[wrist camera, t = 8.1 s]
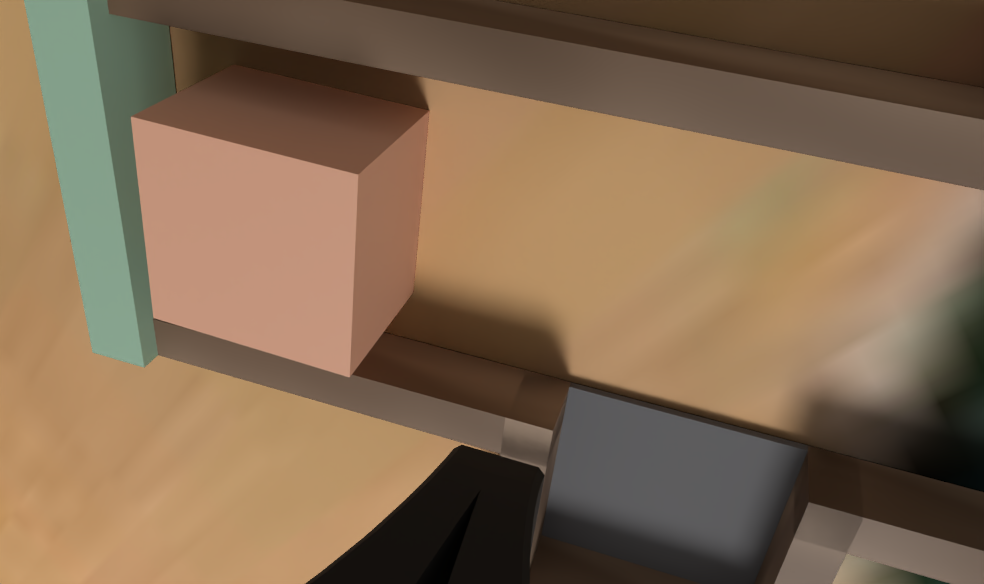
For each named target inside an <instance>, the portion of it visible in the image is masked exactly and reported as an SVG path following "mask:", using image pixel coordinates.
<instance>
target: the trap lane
mask: <svg viewBox="0 0 984 584" xmlns="http://www.w3.org/2000/svg"><path fill="white" fill-rule="evenodd" d="M24 3H25V8H26V13H27V18H28V23H29V28H30V33H31V38H32V44H33V49H34V54H35V59H36V64H37V69H38V74H39V79H40V85H41V90H42V95H43V100H44V105H45V110H46V115H47V120H48V126H49V131H50V136H51V141H52V146H53V151H54V156H55V161H56V167H57V172H58V177H59V182H60V187H61V192H62V197H63V202H64V208H65V213H66V218H67V223H68V228H69V233H70V238H71V243H72V249H73V254H74V259H75V264H76V269H77V274H78V279H79V284H80V290H81V295H82V300H83V305H84V310H85V315H86V320H87V325H88V331H89V336H90V341H91V346H92V351H93V353H96V354H100V355H103V356H107V357H110V358H114V359H117V360H120V361H124V362H127V363H131V364H134V365H137V366H141V367H145V366H146V365H148V364H149V363H150V362H151V361H152V360H153V359H154V358H155V357H156V356H157V355H160V356H163V357H167V358H170V359H174V360H177V361H181V362H184V363H187V364H191V365H194V366H198V367H201V368H205V369H208V370H212V371H215V372H219V373H222V374H226V375H229V376H233V377H236V378H239V379H243V380H246V381H250V382H253V383H257V384H260V385H264V386H267V387H271V388H274V389H278V390H281V391H285V392H288V393H292V394H295V395H298V396H302V397H305V398H309V399H312V400H316V401H319V402H323V403H326V404H330V405H333V406H337V407H340V408H344V409H347V410H350V411H354V412H357V413H361V414H364V415H368V416H371V417H375V418H378V419H382V420H385V421H389V422H392V423H396V424H399V425H402V426H406V427H409V428H413V429H416V430H420V431H423V432H427V433H430V434H434V435H437V436H441V437H444V438H448V439H451V440H455V441H458V442H461V443H465V444H468V445H472V446H475V447H479V448H482V449H486V450H489V451H493V452H496V453H500V456H502V457H505V458H509V459H512V460H516V461H519V462H522V463H526V464H529V465H533V466H536V467H539V468H540V470H541V471H542V472H543V474H544V475H545V477H544V482H543V488H542V493H541V499H540V504H539V510H538V515H537V521H536V526H535V531H534V537H533V542H532V548H531V553H530V584H832V583H833V581H834V579H835V577H836V575H837V572H838V570H839V568H840V566H841V564H842V562H843V560H844V558H845V556H846V554H850V555H853V556H857V557H860V558H864V559H867V560H871V561H874V562H878V563H881V564H885V565H888V566H891V567H895V568H898V569H902V570H905V571H909V572H912V573H916V574H919V575H923V576H926V577H930V578H933V579H937V580H940V581H944V582H947V583H950V584H984V492H980V491H977V490H973V489H969V488H965V487H962V486H958V485H954V484H950V483H947V482H943V481H939V480H935V479H932V478H928V477H924V476H920V475H917V474H913V473H909V472H905V471H902V470H898V469H894V468H890V467H887V466H883V465H879V464H875V463H872V462H868V461H864V460H860V459H857V458H853V457H849V456H845V455H842V454H838V453H834V452H830V451H827V450H823V449H819V448H815V447H812V446H808V445H804V444H800V443H797V442H793V441H789V440H785V439H782V438H778V437H774V436H770V435H767V434H763V433H759V432H755V431H752V430H748V429H744V428H740V427H737V426H733V425H729V424H725V423H722V422H718V421H714V420H710V419H707V418H703V417H699V416H695V415H692V414H688V413H684V412H680V411H677V410H673V409H669V408H665V407H662V406H658V405H654V404H650V403H647V402H643V401H639V400H635V399H632V398H628V397H624V396H620V395H617V394H613V393H609V392H605V391H602V390H598V389H594V388H590V387H587V386H583V385H579V384H575V383H572V382H568V381H564V380H560V379H557V378H553V377H549V376H545V375H542V374H538V373H534V372H530V371H527V370H523V369H519V368H515V367H512V366H508V365H504V364H500V363H497V362H493V361H489V360H485V359H482V358H478V357H474V356H470V355H467V354H463V353H459V352H455V351H452V350H448V349H444V348H440V347H437V346H433V345H429V344H425V343H422V342H418V341H414V340H410V339H407V338H403V337H399V336H395V335H392V334H388V333H384V332H383V334H382V335H381V336H380V338H379V339H378V340H377V342H376V343H375V344H374V346H373V347H372V348H371V350H370V351H369V352H368V354H367V355H366V356H365V358H364V359H363V360H362V362H361V363H360V364H359V366H358V367H357V368H356V370H355V371H354V372H353V374H352V375H351V376H350V377H346V376H343V375H340V374H336V373H333V372H330V371H327V370H323V369H320V368H317V367H313V366H310V365H307V364H303V363H300V362H297V361H294V360H290V359H287V358H284V357H280V356H277V355H274V354H271V353H267V352H264V351H261V350H257V349H254V348H251V347H247V346H244V345H241V344H238V343H234V342H231V341H228V340H224V339H221V338H218V337H214V336H211V335H208V334H205V333H201V332H198V331H195V330H191V329H188V328H185V327H182V326H178V325H175V324H172V323H168V322H165V321H162V320H158V319H155V318H153V310H152V301H151V292H150V283H149V274H148V265H147V257H146V248H145V239H144V230H143V221H142V212H141V204H140V195H139V186H138V177H137V168H136V159H135V151H134V142H133V133H132V124H131V116H133V115H135V114H137V113H139V112H141V111H143V110H145V109H146V108H148V107H150V106H152V105H154V104H156V103H158V102H160V101H162V100H164V99H166V98H168V97H170V96H172V95H174V94H176V88H175V79H174V69H173V60H172V51H171V41H170V32H169V26H172V27H177V28H181V29H186V30H191V31H196V32H201V33H206V34H211V35H216V36H221V37H226V38H231V39H236V40H241V41H246V42H251V43H256V44H261V45H266V46H271V47H276V48H281V49H286V50H291V51H296V52H301V53H306V54H310V55H315V56H320V57H325V58H330V59H335V60H340V61H345V62H350V63H355V64H360V65H365V66H370V67H375V68H380V69H385V70H390V71H395V72H400V73H405V74H410V75H415V76H420V77H425V78H430V79H435V80H440V81H444V82H449V83H454V84H459V85H464V86H469V87H474V88H479V89H484V90H489V91H494V92H499V93H504V94H509V95H514V96H519V97H524V98H529V99H534V100H539V101H544V102H549V103H554V104H559V105H564V106H569V107H573V108H578V109H583V110H588V111H593V112H598V113H603V114H608V115H613V116H618V117H623V118H628V119H633V120H638V121H643V122H648V123H653V124H658V125H663V126H668V127H673V128H678V129H683V130H688V131H693V132H698V133H702V134H707V135H712V136H717V137H722V138H727V139H732V140H737V141H742V142H747V143H752V144H757V145H762V146H767V147H772V148H777V149H782V150H787V151H792V152H797V153H802V154H807V155H812V156H817V157H822V158H827V159H832V160H836V161H841V162H846V163H851V164H856V165H861V166H866V167H871V168H876V169H881V170H886V171H891V172H896V173H901V174H906V175H911V176H916V177H921V178H926V179H931V180H936V181H941V182H946V183H951V184H956V185H961V186H965V187H970V188H975V189H980V190H984V88H981V87H976V86H970V85H964V84H959V83H953V82H948V81H942V80H937V79H931V78H925V77H920V76H914V75H909V74H903V73H898V72H892V71H886V70H881V69H875V68H870V67H864V66H859V65H853V64H847V63H842V62H836V61H831V60H825V59H820V58H814V57H808V56H803V55H797V54H792V53H786V52H781V51H775V50H770V49H764V48H758V47H753V46H747V45H742V44H736V43H731V42H725V41H719V40H714V39H708V38H703V37H697V36H692V35H686V34H680V33H675V32H669V31H664V30H658V29H653V28H647V27H641V26H636V25H630V24H625V23H619V22H614V21H608V20H602V19H597V18H591V17H586V16H580V15H575V14H569V13H563V12H558V11H552V10H547V9H541V8H536V7H530V6H524V5H519V4H513V3H508V2H502V1H497V0H24Z"/></svg>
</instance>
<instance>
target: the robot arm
mask: <svg viewBox="0 0 984 584" xmlns="http://www.w3.org/2000/svg"><path fill="white" fill-rule="evenodd" d="M544 477H545V475H544V474H543V472H542V471H541V470H540V468H539V467H536V466H533V465H529V464H526V463H522V462H519V461H516V460H512V459H509V458H505V457H502V456H498V455H495V454H492V453H488V452H485V451H481V450H478V449H474V448H471V447H468V446H464V445H461V446H458V447H456V448H454V449H453V450H452V452H451V453H450V454H449V455H448V456H447V457H446V459H445V460H444V461H443V462H442V463H441V464H440V465H439V466H438V467H437V468H436V469H435V470H434V472H433V473H432V474H431V475H430V476H429V477H428V478H427V479H426V480H425V481H424V482H423V483H422V484H421V485H420V486H419V487H418V488H417V489H416V490H415V491H414V492H413V493H412V494H411V495H410V496H409V497H408V498H407V499H406V500H405V501H404V502H403V503H401V504H400V505H399V506H398V507H397V508H396V509H395V510H394V511H393V512H392V513H390V514H389V515H388V516H387V517H386V518H385V519H384V520H383V521H382V522H381V523H379V524H378V525H377V526H376V527H375V528H374V529H373V530H372V531H371V532H369V533H368V534H367V535H366V536H365V537H364V538H362V539H361V540H360V541H359V542H358V543H356V544H355V545H354V546H353V547H351V548H350V549H349V550H348V551H346V552H345V553H344V554H343V555H342V556H340V557H339V558H338V559H337V560H335V561H334V562H333V563H332V564H330V565H329V566H328V567H327V568H325V569H324V570H323V571H322V572H320V573H319V574H318V575H316V576H315V577H314V578H312V579H311V580H310V581H308V582H307V583H306V584H530V553H531V548H532V542H533V537H534V531H535V526H536V521H537V515H538V510H539V504H540V499H541V493H542V488H543V482H544Z"/></svg>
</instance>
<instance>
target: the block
mask: <svg viewBox="0 0 984 584" xmlns="http://www.w3.org/2000/svg"><path fill="white" fill-rule="evenodd" d="M428 122H429V110H425V109H421V108H417V107H412V106H408V105H404V104H400V103H396V102H391V101H387V100H383V99H379V98H374V97H370V96H366V95H362V94H357V93H353V92H349V91H345V90H341V89H336V88H332V87H328V86H324V85H319V84H315V83H311V82H307V81H302V80H298V79H294V78H290V77H286V76H281V75H277V74H273V73H269V72H264V71H260V70H256V69H252V68H247V67H243V66H239V65H235V64H234V65H232V66H230V67H228V68H226V69H224V70H222V71H220V72H218V73H216V74H214V75H212V76H210V77H208V78H206V79H204V80H202V81H200V82H198V83H196V84H194V85H192V86H190V87H188V88H186V89H184V90H182V91H180V92H178V93H176V94H174V95H172V96H170V97H168V98H166V99H164V100H162V101H160V102H158V103H156V104H154V105H152V106H150V107H148V108H146V109H145V110H143V111H141V112H139V113H137V114H135V115H133V116H131V124H132V133H133V142H134V151H135V159H136V168H137V177H138V186H139V195H140V204H141V212H142V221H143V230H144V239H145V248H146V257H147V265H148V274H149V283H150V292H151V301H152V310H153V318H155V319H158V320H162V321H165V322H168V323H172V324H175V325H178V326H182V327H185V328H188V329H191V330H195V331H198V332H201V333H205V334H208V335H211V336H214V337H218V338H221V339H224V340H228V341H231V342H234V343H238V344H241V345H244V346H247V347H251V348H254V349H257V350H261V351H264V352H267V353H271V354H274V355H277V356H280V357H284V358H287V359H290V360H294V361H297V362H300V363H303V364H307V365H310V366H313V367H317V368H320V369H323V370H327V371H330V372H333V373H336V374H340V375H343V376H346V377H350V376H351V375H352V374H353V372H354V371H355V370H356V368H357V367H358V366H359V364H360V363H361V362H362V360H363V359H364V358H365V356H366V355H367V354H368V352H369V351H370V350H371V348H372V347H373V346H374V344H375V343H376V342H377V340H378V339H379V338H380V336H381V335H382V334H383V332H384V331H385V330H386V328H387V327H388V326H389V324H390V323H391V322H392V320H393V319H394V318H395V316H396V315H397V314H398V312H399V311H400V309H401V308H402V307H403V305H404V304H405V303H406V301H407V300H408V299H409V297H410V296H411V295H412V293H413V292H414V282H415V270H416V259H417V248H418V236H419V225H420V213H421V202H422V191H423V179H424V168H425V156H426V145H427V133H428Z"/></svg>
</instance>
